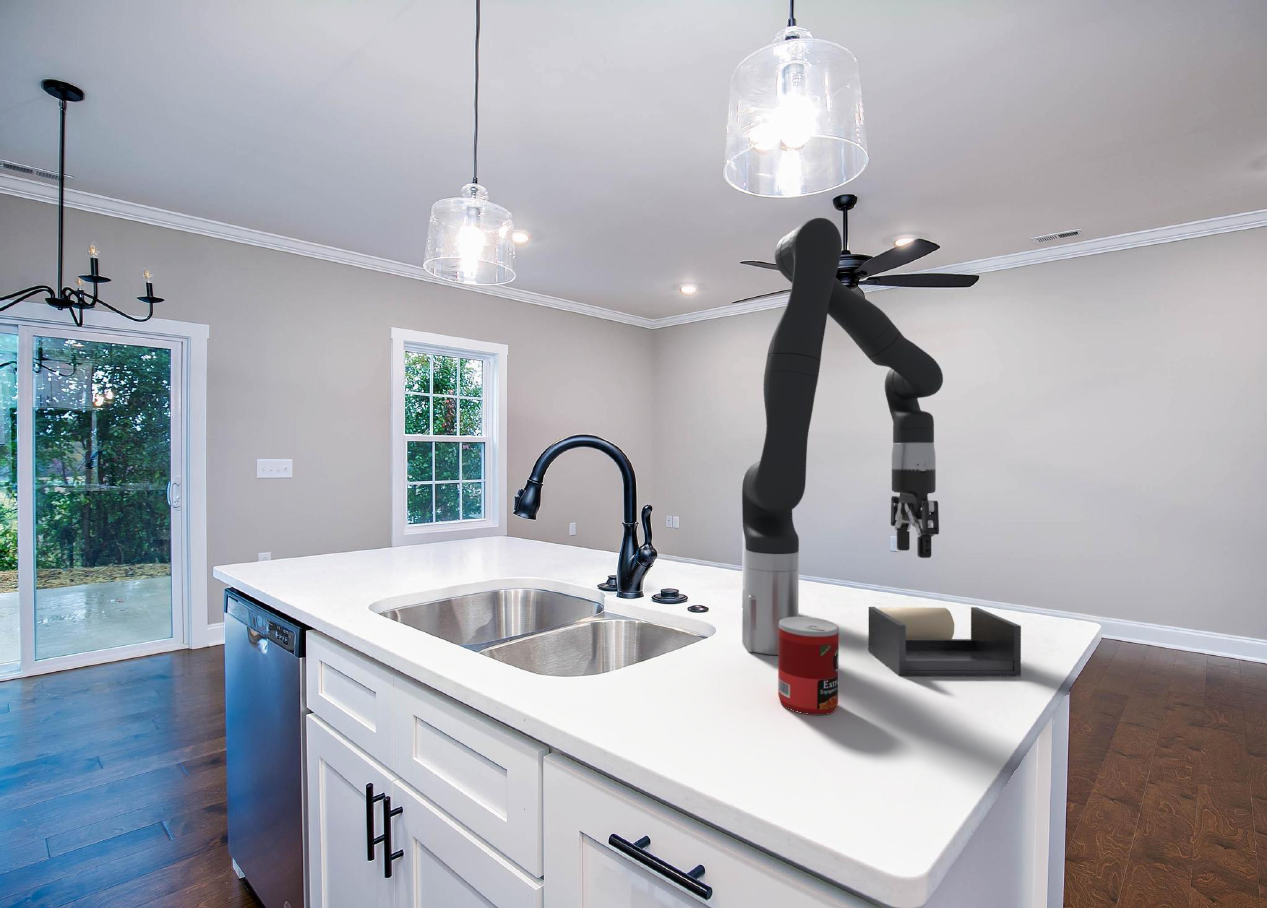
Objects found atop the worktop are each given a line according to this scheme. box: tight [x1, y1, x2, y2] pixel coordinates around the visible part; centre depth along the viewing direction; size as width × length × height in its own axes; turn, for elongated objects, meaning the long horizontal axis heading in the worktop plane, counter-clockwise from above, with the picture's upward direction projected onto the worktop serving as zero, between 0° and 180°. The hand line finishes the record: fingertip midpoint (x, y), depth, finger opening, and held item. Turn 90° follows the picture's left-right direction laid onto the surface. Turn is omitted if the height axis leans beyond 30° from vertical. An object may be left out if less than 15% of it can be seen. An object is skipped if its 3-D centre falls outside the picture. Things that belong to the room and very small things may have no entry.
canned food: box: [777, 616, 840, 715], centre depth 84 cm, size 8×8×11 cm
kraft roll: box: [877, 606, 955, 639], centre depth 115 cm, size 14×6×6 cm, turn 91°
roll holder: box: [867, 606, 1022, 677], centre depth 101 cm, size 19×12×8 cm, turn 91°
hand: (913, 553), depth 116 cm, fingers open, 8 cm apart
